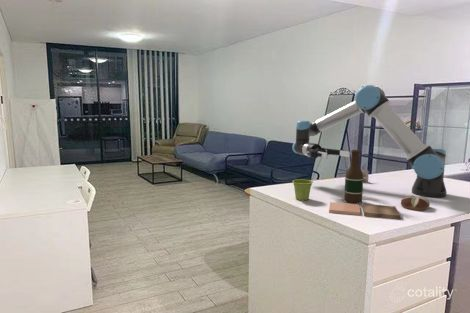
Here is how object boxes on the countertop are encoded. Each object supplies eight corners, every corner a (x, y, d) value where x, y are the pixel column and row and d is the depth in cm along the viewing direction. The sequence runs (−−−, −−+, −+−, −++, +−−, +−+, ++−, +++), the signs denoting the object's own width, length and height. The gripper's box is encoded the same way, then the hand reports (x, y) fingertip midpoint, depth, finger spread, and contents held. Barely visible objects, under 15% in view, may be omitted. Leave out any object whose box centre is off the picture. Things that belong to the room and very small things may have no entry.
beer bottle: (353, 204, 146) (356, 151, 143) (340, 200, 153) (342, 149, 150) (365, 202, 150) (368, 150, 147) (352, 198, 157) (354, 148, 154)
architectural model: (366, 184, 190) (367, 171, 189) (354, 182, 195) (355, 170, 194) (368, 183, 193) (368, 170, 192) (356, 181, 197) (357, 169, 196)
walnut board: (395, 209, 138) (395, 206, 138) (400, 219, 126) (400, 215, 126) (362, 207, 142) (362, 203, 142) (364, 216, 130) (364, 212, 130)
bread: (431, 207, 143) (432, 196, 143) (425, 213, 135) (426, 201, 134) (404, 202, 151) (404, 191, 150) (396, 207, 142) (397, 196, 142)
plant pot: (312, 202, 150) (313, 183, 149) (291, 201, 152) (292, 182, 151) (311, 197, 159) (312, 179, 158) (292, 196, 161) (292, 178, 160)
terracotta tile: (358, 207, 142) (358, 204, 142) (360, 215, 131) (360, 212, 131) (330, 204, 146) (330, 202, 146) (329, 212, 135) (329, 209, 135)
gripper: (330, 155, 184) (357, 161, 164) (292, 157, 174) (316, 164, 155) (331, 142, 183) (358, 146, 163) (292, 144, 173) (317, 148, 154)
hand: (338, 155), depth 159 cm, fingers open, 13 cm apart
